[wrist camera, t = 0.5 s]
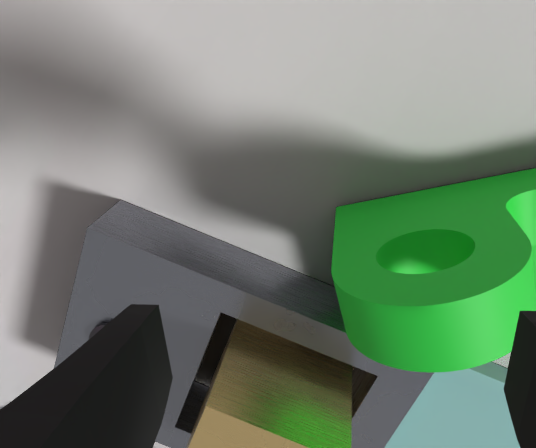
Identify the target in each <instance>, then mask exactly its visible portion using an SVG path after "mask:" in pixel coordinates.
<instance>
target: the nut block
mask: <svg viewBox="0 0 536 448" xmlns="http://www.w3.org/2000/svg"><path fill="white" fill-rule="evenodd" d="M351 430H352V365H349V364H347V363H344V362H342V361H339V360H337V359H335V358H332V357H330V356H327V355H325V354H322V353H320V352H317V351H315V350H312V349H310V348H308V347H305V346H303V345H300V344H298V343H295V342H293V341H290V340H288V339H285V338H283V337H281V336H278V335H276V334H273V333H271V332H268V331H266V330H263V329H261V328H258V327H256V326H253V325H251V324H249V323H246V322H244V321H241V320H239V319H237V320H236V323H235V325H234V327H233V330H232V332H231V334H230V337H229V339H228V342H227V344H226V346H225V349H224V351H223V354H222V356H221V358H220V361H219V363H218V366H217V368H216V370H215V373H214V375H213V378H212V380H211V383H210V386H209V388H208V391H207V393H206V396H205V399H204V401H203V404H202V407H201V409H200V412H199V414H198V417H197V420H196V422H195V425H194V428H193V430H192V433H191V435H190V438H189V441H188V443H187V446H186V448H351Z"/></svg>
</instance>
